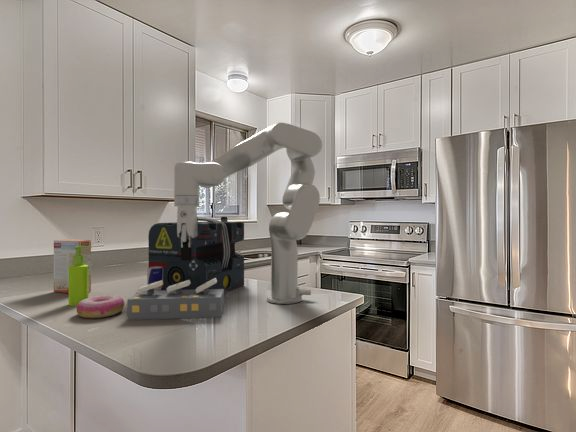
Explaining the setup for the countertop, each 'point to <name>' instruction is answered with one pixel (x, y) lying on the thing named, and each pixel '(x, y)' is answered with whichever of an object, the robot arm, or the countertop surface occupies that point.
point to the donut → (100, 306)
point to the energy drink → (155, 276)
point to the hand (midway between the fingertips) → (186, 260)
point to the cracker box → (69, 262)
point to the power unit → (199, 254)
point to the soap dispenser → (78, 278)
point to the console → (175, 304)
